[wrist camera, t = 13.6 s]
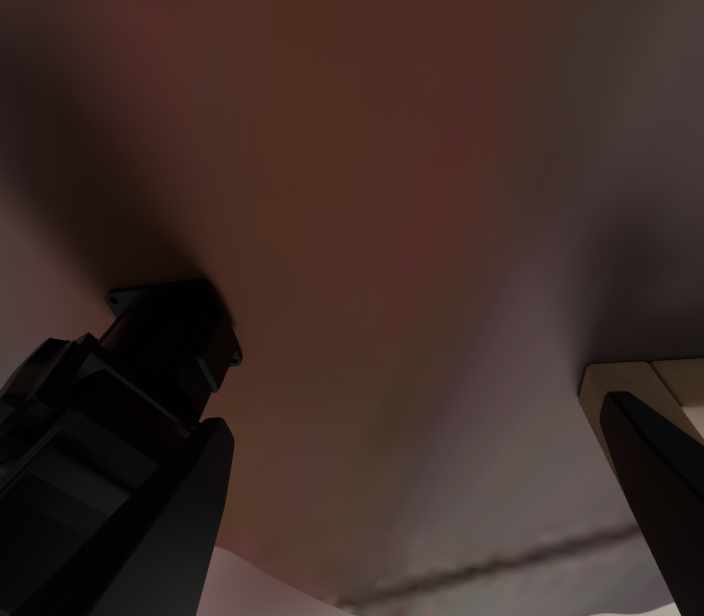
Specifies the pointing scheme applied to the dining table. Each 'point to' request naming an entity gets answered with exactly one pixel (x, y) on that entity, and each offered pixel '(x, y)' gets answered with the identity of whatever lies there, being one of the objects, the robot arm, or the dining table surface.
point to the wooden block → (648, 393)
